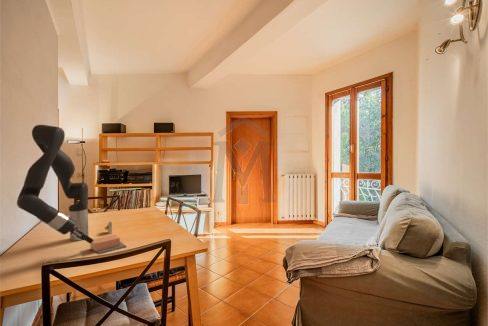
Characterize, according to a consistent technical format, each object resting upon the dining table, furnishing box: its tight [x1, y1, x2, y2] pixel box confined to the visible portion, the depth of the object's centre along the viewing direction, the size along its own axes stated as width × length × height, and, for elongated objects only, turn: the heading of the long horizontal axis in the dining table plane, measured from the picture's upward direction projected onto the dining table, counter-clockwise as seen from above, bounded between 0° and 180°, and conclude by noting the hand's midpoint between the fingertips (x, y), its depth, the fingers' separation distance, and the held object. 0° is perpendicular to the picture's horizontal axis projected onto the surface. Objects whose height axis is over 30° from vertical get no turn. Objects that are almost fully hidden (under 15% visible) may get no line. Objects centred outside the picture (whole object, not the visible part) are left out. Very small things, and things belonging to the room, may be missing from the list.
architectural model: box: [103, 220, 113, 235], centre depth 156 cm, size 3×7×7 cm, turn 37°
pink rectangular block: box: [89, 234, 121, 252], centre depth 131 cm, size 8×4×12 cm
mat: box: [96, 241, 127, 255], centre depth 132 cm, size 15×13×1 cm
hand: (91, 241), depth 126 cm, fingers closed
